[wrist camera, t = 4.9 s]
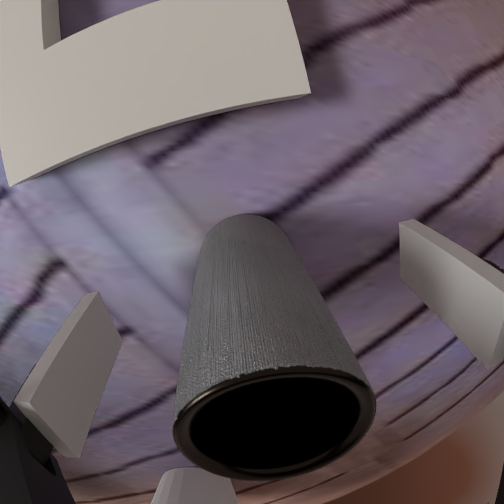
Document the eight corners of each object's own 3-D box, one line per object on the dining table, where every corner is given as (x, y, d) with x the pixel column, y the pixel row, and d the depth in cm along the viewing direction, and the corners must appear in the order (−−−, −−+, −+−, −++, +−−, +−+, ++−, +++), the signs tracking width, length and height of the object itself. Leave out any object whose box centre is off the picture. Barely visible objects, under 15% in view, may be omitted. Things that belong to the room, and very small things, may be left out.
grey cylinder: (245, 313, 16) (269, 494, 7) (180, 259, 15) (131, 439, 5) (309, 256, 16) (407, 417, 6) (246, 193, 14) (294, 323, 5)
